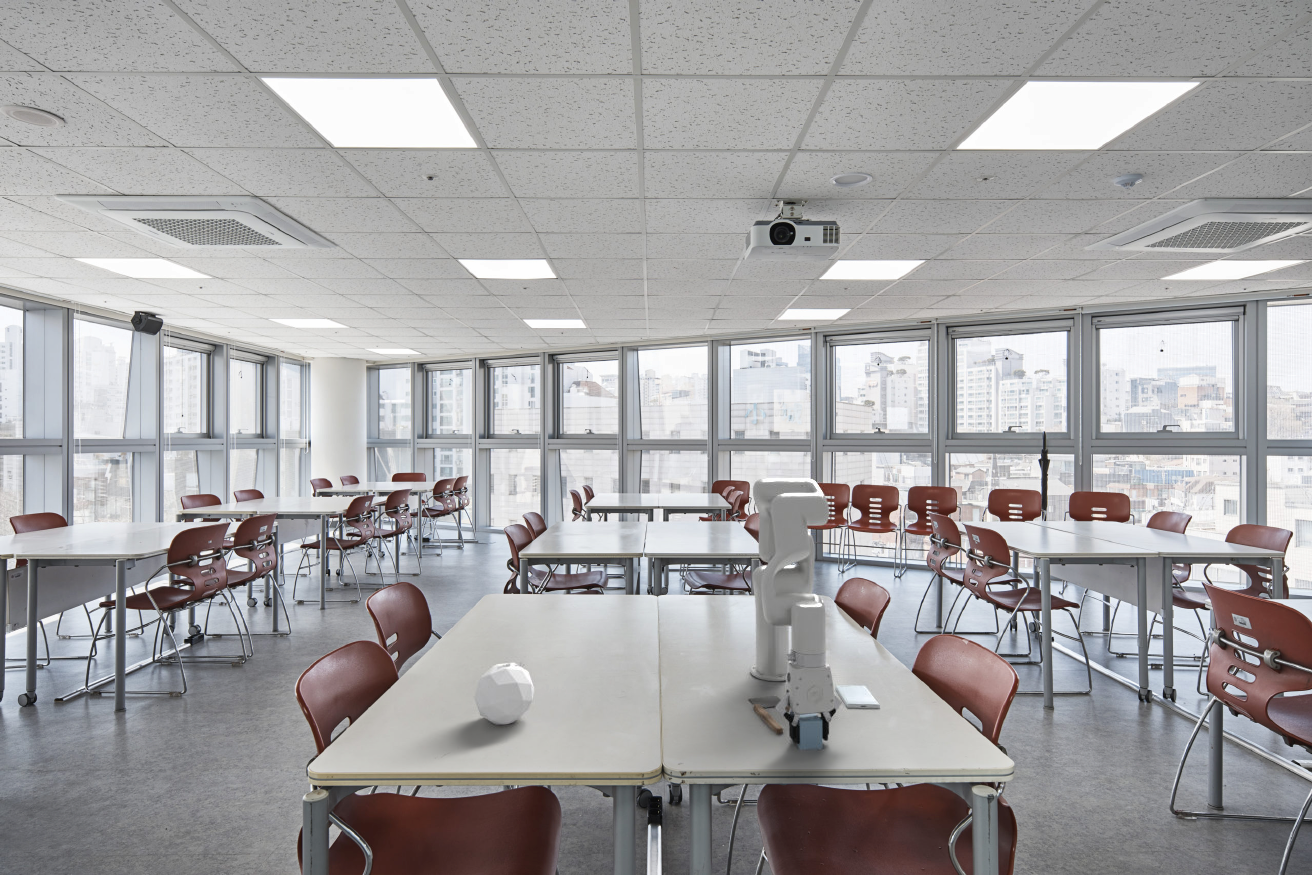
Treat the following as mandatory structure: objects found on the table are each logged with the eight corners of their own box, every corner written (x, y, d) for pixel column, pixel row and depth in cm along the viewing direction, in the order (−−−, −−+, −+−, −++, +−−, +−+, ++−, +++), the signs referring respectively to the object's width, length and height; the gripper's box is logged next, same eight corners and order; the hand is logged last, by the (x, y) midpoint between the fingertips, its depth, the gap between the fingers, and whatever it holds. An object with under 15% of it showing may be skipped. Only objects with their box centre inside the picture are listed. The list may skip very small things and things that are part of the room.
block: (792, 738, 139) (792, 712, 139) (814, 737, 139) (813, 711, 139) (800, 749, 134) (800, 721, 134) (822, 748, 134) (822, 720, 134)
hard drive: (835, 684, 168) (847, 703, 156) (865, 685, 168) (880, 703, 155) (835, 691, 168) (847, 709, 156) (865, 691, 168) (880, 710, 155)
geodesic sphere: (522, 676, 161) (494, 640, 155) (558, 689, 152) (531, 652, 146) (483, 727, 152) (452, 691, 145) (519, 744, 143) (488, 706, 136)
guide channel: (744, 700, 160) (744, 695, 160) (780, 696, 163) (780, 691, 163) (777, 733, 141) (777, 728, 141) (816, 729, 143) (816, 724, 143)
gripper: (779, 666, 131) (780, 752, 131) (852, 660, 135) (853, 743, 135) (765, 655, 138) (766, 736, 138) (834, 649, 142) (835, 728, 142)
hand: (809, 738), depth 136 cm, fingers open, 6 cm apart
